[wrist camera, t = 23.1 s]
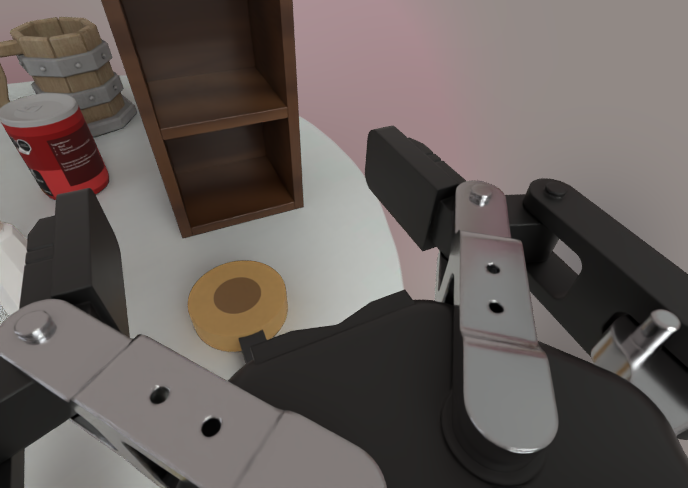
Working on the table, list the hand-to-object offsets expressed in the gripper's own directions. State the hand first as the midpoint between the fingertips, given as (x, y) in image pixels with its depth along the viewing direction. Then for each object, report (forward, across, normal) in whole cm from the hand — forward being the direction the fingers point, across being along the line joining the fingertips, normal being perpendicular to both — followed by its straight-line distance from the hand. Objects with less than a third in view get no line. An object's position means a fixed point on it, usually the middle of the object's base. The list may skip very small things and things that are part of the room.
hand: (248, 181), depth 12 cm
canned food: (+44, +14, +26) cm, 53 cm away
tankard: (+63, +16, +26) cm, 70 cm away
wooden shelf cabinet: (+33, -4, +26) cm, 42 cm away
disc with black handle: (+10, 0, +25) cm, 27 cm away
